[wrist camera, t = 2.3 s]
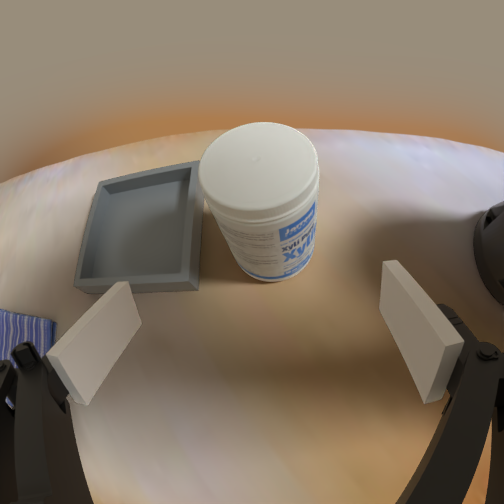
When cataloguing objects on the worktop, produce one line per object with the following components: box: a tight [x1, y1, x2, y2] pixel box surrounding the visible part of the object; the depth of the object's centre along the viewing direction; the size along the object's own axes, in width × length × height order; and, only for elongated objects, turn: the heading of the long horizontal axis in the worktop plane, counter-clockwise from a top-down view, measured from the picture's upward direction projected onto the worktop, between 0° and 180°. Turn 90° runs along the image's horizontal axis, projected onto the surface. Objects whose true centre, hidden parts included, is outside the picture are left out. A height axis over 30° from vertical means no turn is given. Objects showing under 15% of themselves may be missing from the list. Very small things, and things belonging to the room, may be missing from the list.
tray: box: [73, 160, 204, 294], centre depth 36 cm, size 17×17×3 cm
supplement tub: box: [198, 122, 319, 282], centre depth 27 cm, size 10×10×15 cm
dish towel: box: [0, 309, 57, 407], centre depth 32 cm, size 17×24×3 cm
